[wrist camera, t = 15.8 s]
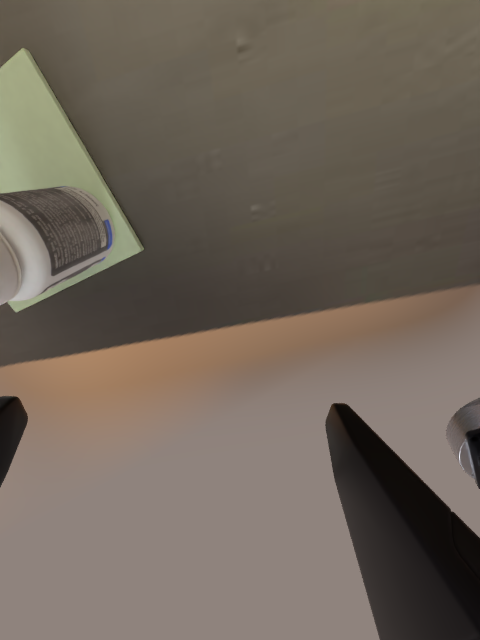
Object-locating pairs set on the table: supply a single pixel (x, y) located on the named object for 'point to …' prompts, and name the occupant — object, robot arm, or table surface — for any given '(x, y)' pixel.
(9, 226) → the pill bottle
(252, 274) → the table surface
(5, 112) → the mat
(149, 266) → the table surface
